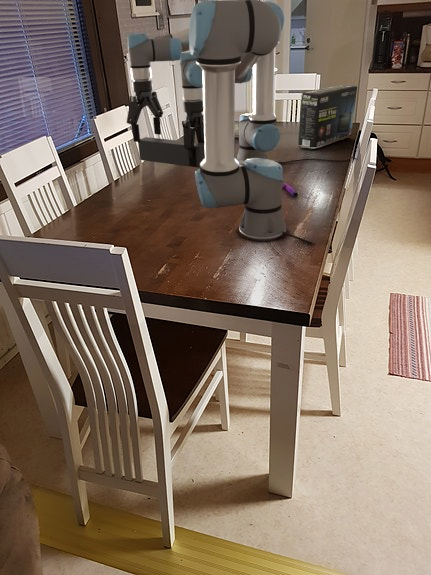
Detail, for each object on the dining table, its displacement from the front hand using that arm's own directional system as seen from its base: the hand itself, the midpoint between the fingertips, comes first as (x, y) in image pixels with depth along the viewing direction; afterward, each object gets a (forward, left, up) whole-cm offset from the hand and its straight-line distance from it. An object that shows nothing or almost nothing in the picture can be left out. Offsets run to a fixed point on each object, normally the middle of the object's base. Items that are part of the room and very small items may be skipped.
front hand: (197, 164), depth 177 cm
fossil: (+34, -92, -12) cm, 99 cm away
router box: (-20, -96, -12) cm, 98 cm away
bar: (+11, 0, 0) cm, 11 cm away
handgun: (-28, -18, -12) cm, 35 cm away
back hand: (+23, 0, +8) cm, 24 cm away
